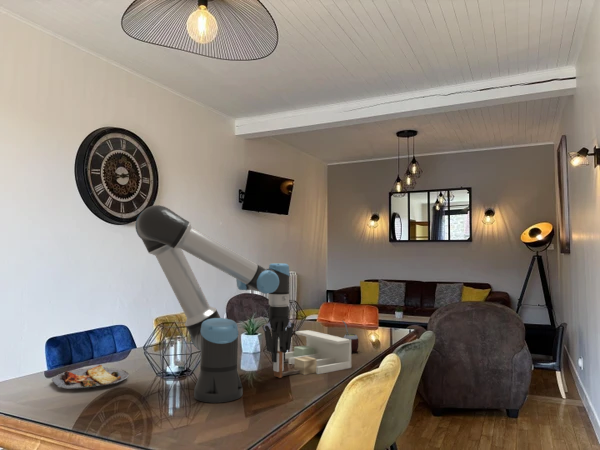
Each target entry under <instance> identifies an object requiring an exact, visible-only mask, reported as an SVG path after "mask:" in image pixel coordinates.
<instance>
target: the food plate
mask: <svg viewBox="0 0 600 450" xmlns="http://www.w3.org/2000/svg"><path fill="white" fill-rule="evenodd" d="M129 376H130V374H129V372H128V371H126V370H124V369H122V368H121V369H120V368H116V367H115V368H113V367H103V365H102V364H98V365H97V366H94V367H90V368H79V369H74V370H70V371H69V370H65V371H64V372H62V373H58V374H57V375H56V376H54V377H52V378H51V381H52V382H53V384H54V385H55V386H57V388H63V389H68V390H70V389H75V390H82V389H83V390H85V389H86V390H88V389H89V390H90V389H94V388H95V389H96V388H101V387H106V386H110V385H116V384H118V383H120V382H122V381H124V380H126V379H128V378H129Z"/></svg>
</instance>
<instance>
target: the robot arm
mask: <svg viewBox="0 0 600 450" xmlns="http://www.w3.org/2000/svg"><path fill="white" fill-rule="evenodd" d="M135 232H136V233H137V236H138V237H139V238H140V239H141V241H142V243H143V245H144V247H145V249H146V250H147V252H148V254H150V255H152V256H155V258H156V259H157V261H158V263H159V266H160V267H161V270H162V272H163V274H164V276H165V278H166V280H167V282H168V283H169V285H170V288H171V290H172V291H173V294H174V295H175V297H176V299H177V301H178V304H179V305H180V307H181V309H182V311H183V314H184V315H185V318H186V320H185V323H184V326H185V327H186V329H187V331H188V334H189V337H190V340H191V342H192V344H193V346H194V347H195V348H196V349H197V350H198V351H200V366H199V367H200V369H199V370H200V371H199V374H198V377H197V379H196V384H195V385H194V390H193V392H194V393H193V398H194V399H195V400H197V401H199V402H204V403H210V404H211V403H212V404H213V403H227V402H232V401H235V400H238V399H240V398H241V397H243V393H244V392H243V391H244V388H243V385H242V382H241V378H240V374H239V370H238V359H239V358H238V352H239V350H238V348H239V347H238V346H239V345H238V344H239V327H238V323H237V322H236V321H235V320H233V319H230V318H229V319H228V318H224V317H221V315H220V314H219V312H218V310H217V308H216V307H213V306H211V305H210V304H209V302H208V300H207V298H206V296H205V294H204V292H203V289H202V288H201V286H200V285H201V284H199V282H198V279H197V278H196V276H195V273H194V272H193V269H192V268H191V265H190V263H189V262H188V259H187V257H186V255H185V254H184V252H186V253H187V254H190V255H192V256H194V257H195V258H198V259H199V260H201V261H203V262H205V263H206V264H208V265H210V266H212V267H214V268H216V269H217V270H219V271H221V272H223V273H225V274H227V275H229V276H231V277H232V278H233V279H234V278H235V279H236V287H237V289H238V290H240V291H255V292H258V293H259V292H260V293H261V294H265V295H266V294H268V305H269V306H268V320H267V321H268V322H267V323H266V324H264V325H262V329H263V332H264V333H263V334H264V338H265V345H266V351H267V352H270V353H271V362H272V364H273V365H272V366H273V367H272V368H273V369H272V371H273V372H274V371H276V372H279V353H277V351H278V340H279V347H280V351H281V352H282V372H285V369H284V366H285V365H284V363H285V362H284V361H285V353H287V352H288V351H289V350H290V349H291V346H292V345H291V344H292V337H293V331H294V328H295V326H296V325H295V324H296V323H294V322H292V321H290V319H289V316H290V306H289V304H290V277H291V275H290V265H289V264H288V263H277V262H276V263H269V265H268V268H265V267H263V266H261V265H259V264H258V263H256V262H254V261H252V260H250V259H249V258H247V257H245V256H243V255H242V254H240V253H238V252H236V251H234V250H233V249H231V248H229V247H227V246H226V245H224V244H222V243H220V242H218V241H217V240H215V239H214V238H212V237H210V236H208V235H206V234H205V233H203V232H201V231H199V230H197V229H195V228H194V227H192V224H191V222H190V221H188V220H187V219H184V218H183V217H182V216H181V215H178V214H177V213H176V212H174V211H173V210H171V209H170V208H168V207H166V206H164V205H159V204H158V205H157V204H155V205H151V206H148V207H147V208H145V209H144V210H142V212H141V213H139V215H138V216H137V218H136V221H135Z"/></svg>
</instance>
